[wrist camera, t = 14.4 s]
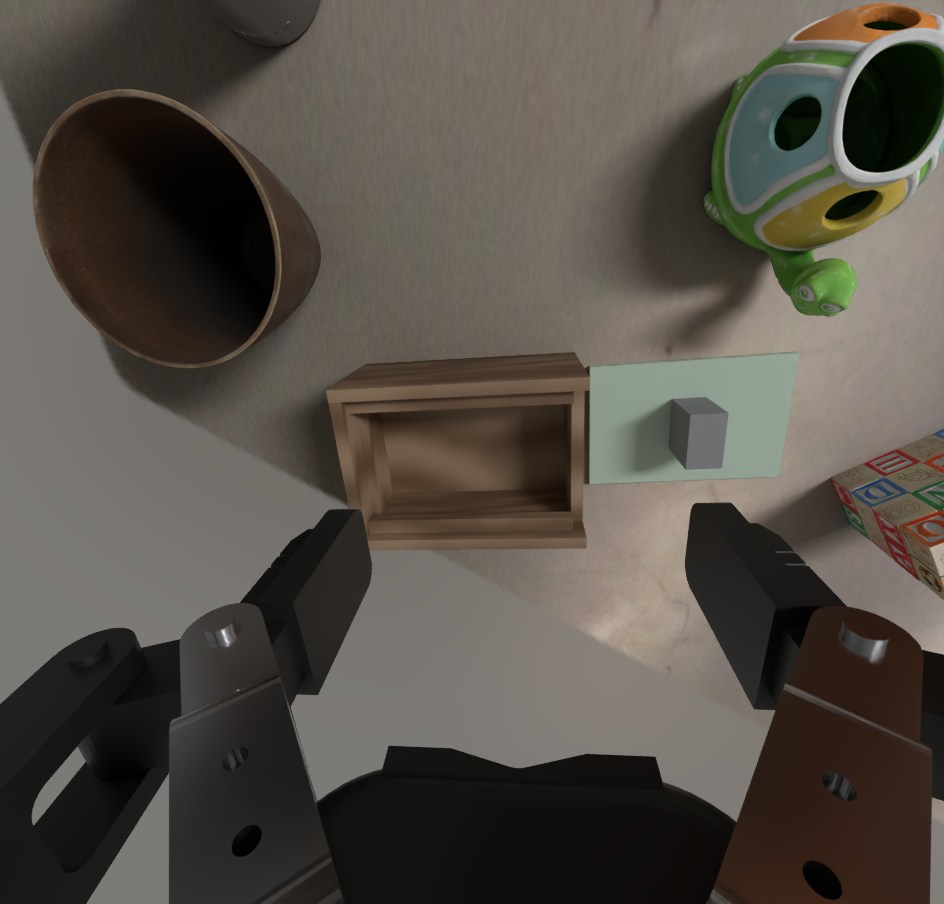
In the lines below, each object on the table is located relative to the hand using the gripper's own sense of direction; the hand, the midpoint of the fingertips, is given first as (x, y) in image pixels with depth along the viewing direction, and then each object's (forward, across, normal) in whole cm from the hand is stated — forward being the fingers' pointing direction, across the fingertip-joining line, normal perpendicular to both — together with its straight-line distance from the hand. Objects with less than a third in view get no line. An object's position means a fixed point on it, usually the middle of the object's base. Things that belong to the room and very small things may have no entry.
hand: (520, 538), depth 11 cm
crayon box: (+34, +5, +9) cm, 36 cm away
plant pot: (+34, +21, -9) cm, 41 cm away
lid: (+35, -16, +9) cm, 39 cm away
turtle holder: (+34, -21, -11) cm, 42 cm away
